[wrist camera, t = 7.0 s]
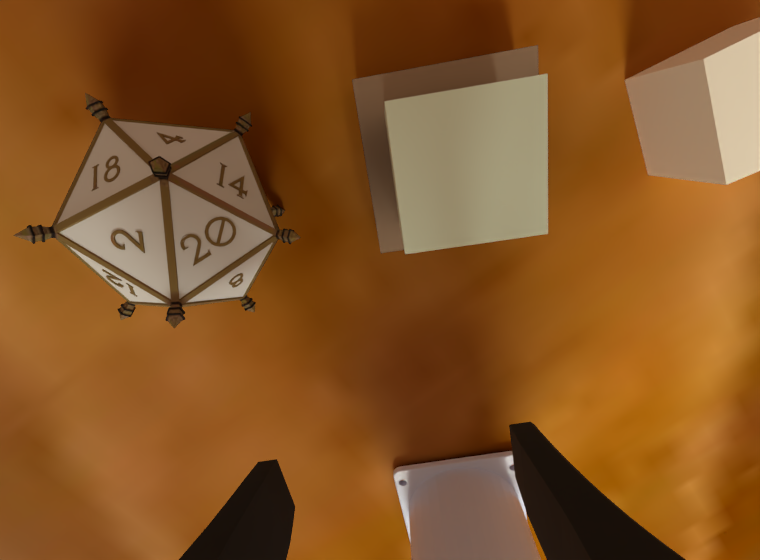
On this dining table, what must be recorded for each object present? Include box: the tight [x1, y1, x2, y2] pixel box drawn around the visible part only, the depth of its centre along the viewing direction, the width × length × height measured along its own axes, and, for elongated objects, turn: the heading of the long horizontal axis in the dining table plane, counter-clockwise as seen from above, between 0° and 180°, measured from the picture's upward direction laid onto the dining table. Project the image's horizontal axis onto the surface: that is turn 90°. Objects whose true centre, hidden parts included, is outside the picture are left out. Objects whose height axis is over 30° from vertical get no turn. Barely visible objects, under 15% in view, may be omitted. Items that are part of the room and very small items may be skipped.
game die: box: [13, 93, 301, 328], centre depth 15 cm, size 9×8×10 cm
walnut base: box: [352, 45, 539, 253], centre depth 17 cm, size 7×7×3 cm
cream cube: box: [625, 17, 760, 185], centre depth 15 cm, size 4×4×4 cm
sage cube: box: [384, 74, 548, 254], centre depth 13 cm, size 4×4×4 cm
